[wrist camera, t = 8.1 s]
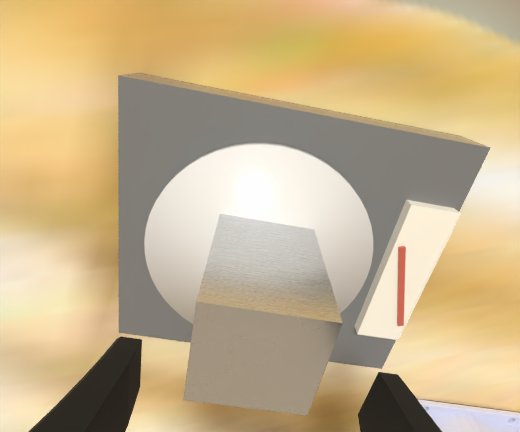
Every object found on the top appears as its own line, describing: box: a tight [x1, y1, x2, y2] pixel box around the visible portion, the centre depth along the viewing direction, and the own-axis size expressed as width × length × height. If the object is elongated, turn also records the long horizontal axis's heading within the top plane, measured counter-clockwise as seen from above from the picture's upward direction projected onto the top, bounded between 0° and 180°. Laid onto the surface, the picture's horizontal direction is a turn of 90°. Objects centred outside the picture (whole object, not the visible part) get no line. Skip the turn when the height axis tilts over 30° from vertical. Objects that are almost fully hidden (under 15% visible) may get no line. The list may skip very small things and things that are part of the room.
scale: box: [118, 73, 490, 369], centre depth 17 cm, size 16×14×3 cm
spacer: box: [184, 214, 343, 416], centre depth 13 cm, size 4×4×6 cm
